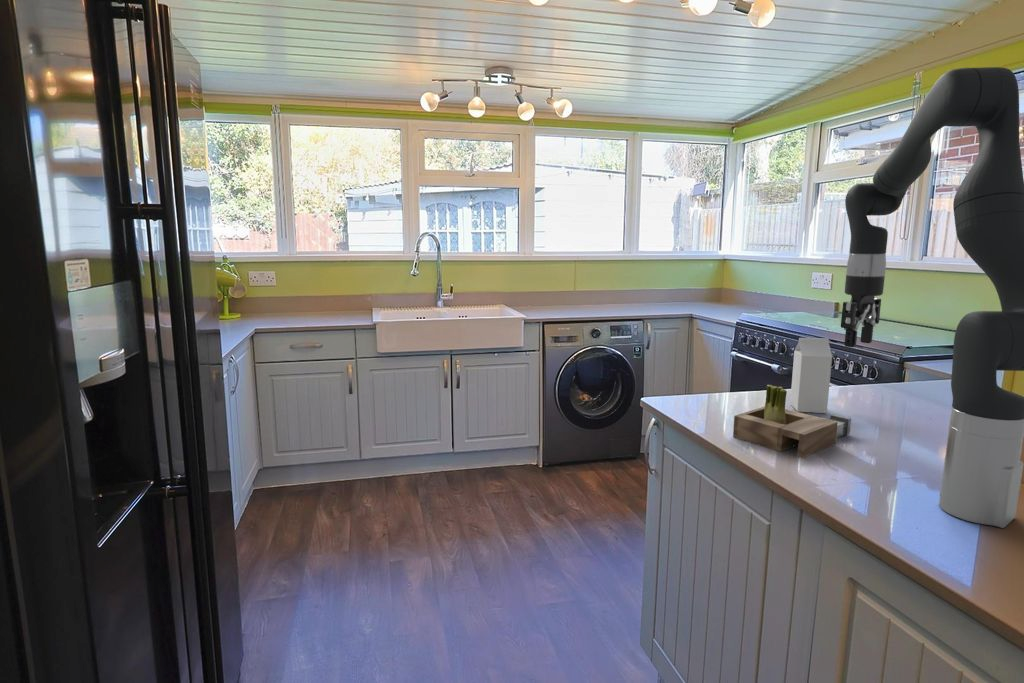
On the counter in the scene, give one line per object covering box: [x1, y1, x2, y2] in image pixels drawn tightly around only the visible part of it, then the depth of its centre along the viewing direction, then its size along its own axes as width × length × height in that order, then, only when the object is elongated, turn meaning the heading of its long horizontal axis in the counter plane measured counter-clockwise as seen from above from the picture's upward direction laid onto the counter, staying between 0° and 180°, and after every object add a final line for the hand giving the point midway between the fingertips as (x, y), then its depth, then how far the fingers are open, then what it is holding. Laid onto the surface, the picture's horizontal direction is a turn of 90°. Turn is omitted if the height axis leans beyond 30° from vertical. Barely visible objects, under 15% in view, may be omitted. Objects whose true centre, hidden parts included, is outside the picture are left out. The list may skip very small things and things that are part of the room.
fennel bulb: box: [764, 384, 787, 425], centre depth 129 cm, size 6×5×12 cm
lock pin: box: [829, 413, 852, 439], centre depth 128 cm, size 4×13×4 cm, turn 126°
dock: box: [732, 405, 838, 459], centre depth 128 cm, size 16×14×5 cm
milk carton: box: [789, 337, 833, 414], centre depth 150 cm, size 7×7×19 cm
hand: (858, 344), depth 132 cm, fingers open, 7 cm apart
